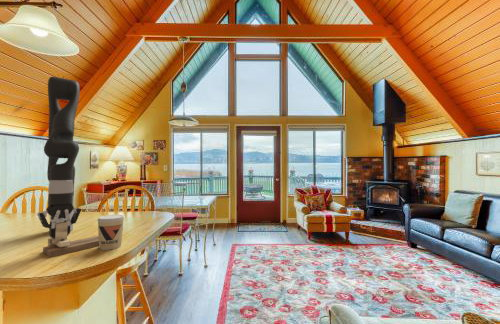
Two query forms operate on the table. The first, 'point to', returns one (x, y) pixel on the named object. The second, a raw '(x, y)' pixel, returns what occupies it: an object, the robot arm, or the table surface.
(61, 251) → the board
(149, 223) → the table surface
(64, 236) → the beige stepped block
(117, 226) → the coffee cup
